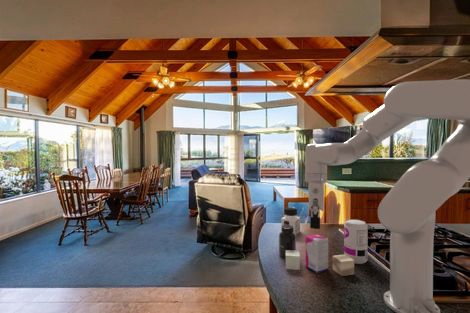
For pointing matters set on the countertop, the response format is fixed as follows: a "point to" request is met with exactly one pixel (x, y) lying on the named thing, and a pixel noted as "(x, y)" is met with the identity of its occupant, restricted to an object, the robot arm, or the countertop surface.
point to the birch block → (343, 265)
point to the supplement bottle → (286, 240)
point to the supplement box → (317, 253)
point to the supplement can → (355, 240)
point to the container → (291, 219)
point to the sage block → (292, 260)
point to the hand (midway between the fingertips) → (315, 224)
